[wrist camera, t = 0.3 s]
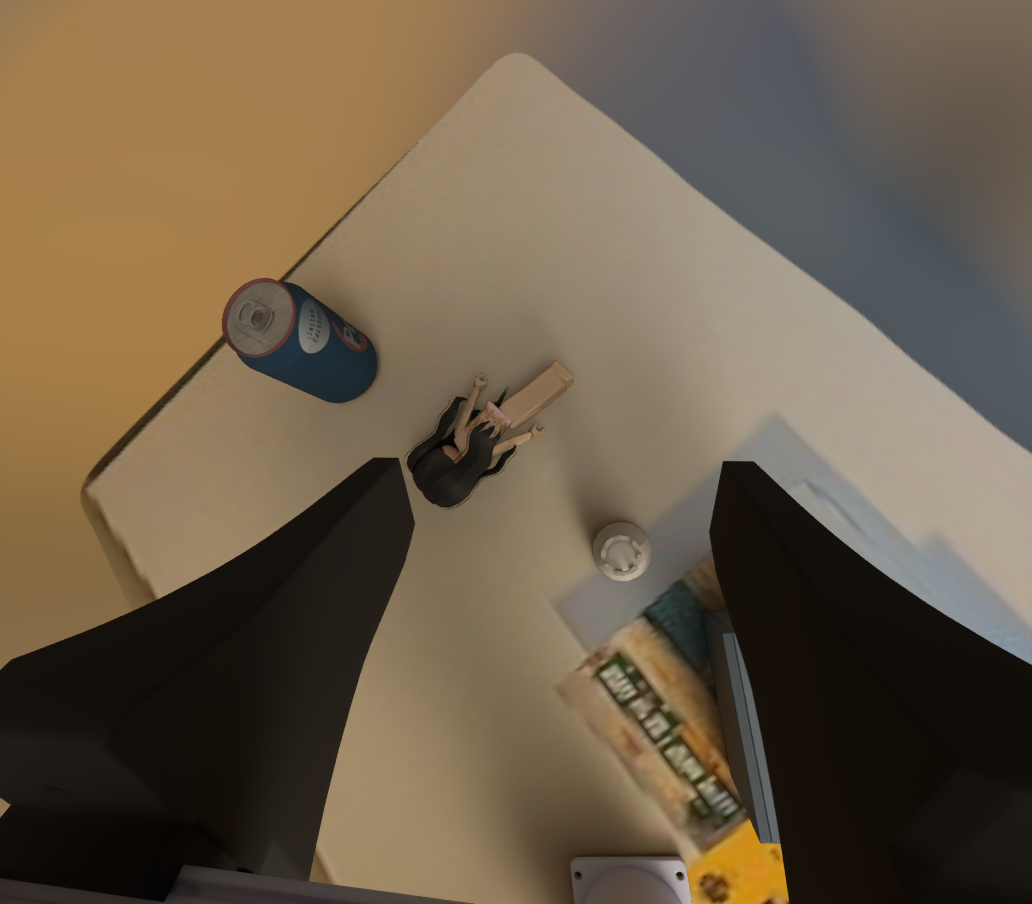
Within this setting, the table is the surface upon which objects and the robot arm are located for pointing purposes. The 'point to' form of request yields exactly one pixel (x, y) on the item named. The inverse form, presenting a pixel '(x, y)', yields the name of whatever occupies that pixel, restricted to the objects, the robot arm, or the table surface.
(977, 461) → the table surface
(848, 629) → the robot arm
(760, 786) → the basket
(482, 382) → the toy figure
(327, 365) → the soda can
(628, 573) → the rook chess piece
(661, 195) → the table surface
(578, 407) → the table surface
